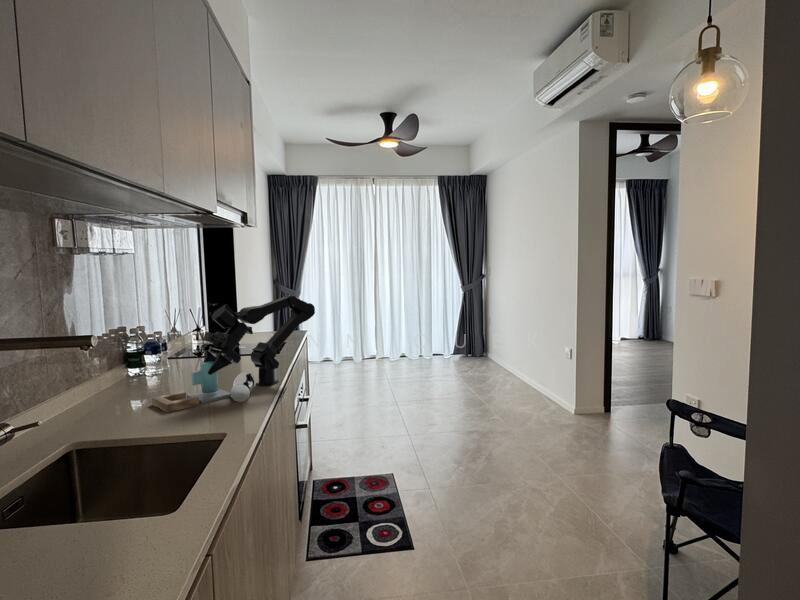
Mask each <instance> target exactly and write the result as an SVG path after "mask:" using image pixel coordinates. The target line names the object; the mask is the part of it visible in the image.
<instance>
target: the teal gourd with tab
mask: <svg viewBox="0 0 800 600" xmlns="http://www.w3.org/2000/svg"><path fill="white" fill-rule="evenodd" d="M214 362H215V361H207V362H203V361H202V362H200V363H199V367H200V369H199V370H196V371H194V370H193V371H191V385H192V386H198V385H199V386H201V392H202V393H214V392H217V391H218V389H219V387H218V386H219V385H218V383H219V382H218V371H216V372H215V373H213V374H211V375H209V374H208V371H209V370H210V368H211V366H212V365H213V363H214Z"/></svg>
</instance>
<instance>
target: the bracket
mask: <svg viewBox="0 0 800 600" xmlns="http://www.w3.org/2000/svg"><path fill="white" fill-rule="evenodd" d="M151 405H152V406H153V407H155V406H156V407H155V408H157V407H158V408H157V409H159V408H160V409H159V410H161V409H162V411H163V410H164V411H163V412H165V411H166V413H167V412H168V413H170V412H171V413H172V412H176V411H180V410H184V409H188V408H192V407H196V406H199V405H200V403H199V397H196V396H193V397H188V398H187V392H185V391H183V390H181V391H176V392H171V393H168V394H162V395H158V396H153V397H151Z"/></svg>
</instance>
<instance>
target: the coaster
mask: <svg viewBox="0 0 800 600" xmlns="http://www.w3.org/2000/svg"><path fill="white" fill-rule="evenodd" d="M193 396H196V397H199V404H202V405H203V404H207V403H211V402H214V401H219V400H223V398H224V399H227V397H228V398H232V397H231V392H230V391H227V390H223V389H221V388H218V391H217V392H214V393H202V391H199V392H194V393H189V394H186V398H188V397H193Z"/></svg>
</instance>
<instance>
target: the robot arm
mask: <svg viewBox="0 0 800 600" xmlns="http://www.w3.org/2000/svg"><path fill="white" fill-rule="evenodd" d="M286 308H289V309H290V310H291V314H290V317H289V318H287V320H286V321H285V322H284V323H283V325H281V327H280V328H279V329H278V330H277V331H276V332H275V333H274V334H273V335H272V336H271V337H270V339H269V340H267V341H266V342H261V341H259V342H258V343H257V345H256V346H255V347H254V348H252V351H251V353H250V360H251V362H252V363H253V365H254V367H255V368H258V382H255V385H256V386H267V385H269V387H270V385H271V386H273V385H274V384H277V383H279V380H278V379H276V376H275V375H276V373H275V370H276V369H278V368H279V365H280V362H279V361H278V360H277V359H276V356H277V352H278V350H279V348H280V347H281V346H282V345H283V344H284V342H285V341H286V340H287V339H288V338H289V337H290V336H291V334H293V332H295V330H297V328H298V327H299V326H300V325H301V324H303V323H305V322H306V321H309V320H310V319H311V318H312V317H314V316H315V313H316V311H315V310H316V309H315V305H314V304H312V303H308V302H307V301H304V300H301V299H300V298H298V297H296V296H295V295H284V296H282V297H280V298H278V299H275V300H272V301H269V302H267V303H264V304H261V305H253V306H247V307H243V308H241V309H240V310H239V311H237V312H235V311H233V310H232V309H231V308H230V305H228V304H223V305H222V306H221V307H219V308H218V309H216V310H215V311H214V312H213V313H212V314H211V319H212V320H213V321H214V322H215V323H216V324H218V325H219V326H220V327H221V328H222V329H224V330H225V329H227V331H225V333H223V332H222V331H216V332H215V333H214V332H211V331H210V332H209V331H205V332H204V335H203V338H202V341H203V342H205V343H202V345H201V346H200V349H201V350H202V351H203V353H204V359H203V361H202V362H207V361H215V362H214V363H213V365H212V366H211V368H210V370H209V371H208V374H209V375H211V374H213V373H215V372H216V371H217V372H218V371H220V370H221V369H223V368H225V367H227V366H230V365H232V364H236V365H237V364H239V362H241V359H242V355H240V354H239V353H238V352H237V351H235V349H236V347H240V345H241V343H240V342H241V340H242V339H244V336H245V335H246V334H249V335H253V334H254V331H253V326H248V325H247V324H251V325H255V324H257V323H259V322H261V321H263V320H264V319H265V317H267V316H268V315H270V314H273V313H277V312H279V311H282V310H284V309H286Z"/></svg>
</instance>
